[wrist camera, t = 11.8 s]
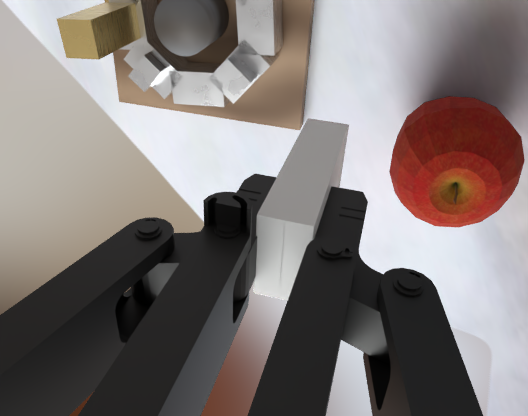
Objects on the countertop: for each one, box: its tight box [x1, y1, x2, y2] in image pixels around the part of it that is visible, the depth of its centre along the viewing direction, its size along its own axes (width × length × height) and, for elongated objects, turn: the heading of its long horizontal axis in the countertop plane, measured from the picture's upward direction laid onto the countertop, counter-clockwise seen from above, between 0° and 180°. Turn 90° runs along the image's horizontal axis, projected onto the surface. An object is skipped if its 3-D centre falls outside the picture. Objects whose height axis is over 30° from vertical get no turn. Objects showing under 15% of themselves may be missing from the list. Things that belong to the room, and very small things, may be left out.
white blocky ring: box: [57, 0, 283, 107], centre depth 41 cm, size 16×15×10 cm
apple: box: [390, 96, 524, 227], centre depth 40 cm, size 10×10×14 cm
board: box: [105, 0, 315, 130], centre depth 44 cm, size 20×20×6 cm
